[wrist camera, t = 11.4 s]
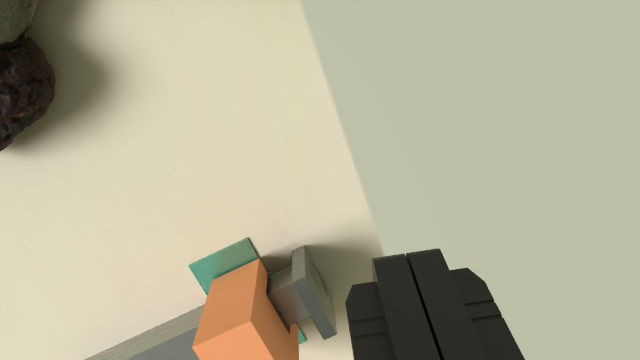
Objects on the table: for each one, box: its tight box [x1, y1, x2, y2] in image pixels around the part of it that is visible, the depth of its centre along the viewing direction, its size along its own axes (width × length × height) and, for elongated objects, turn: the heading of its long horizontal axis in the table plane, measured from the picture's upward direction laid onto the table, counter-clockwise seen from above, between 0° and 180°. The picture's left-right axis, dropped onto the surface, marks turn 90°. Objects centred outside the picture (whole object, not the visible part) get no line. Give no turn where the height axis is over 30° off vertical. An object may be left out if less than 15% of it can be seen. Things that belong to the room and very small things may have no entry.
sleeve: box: [192, 259, 299, 360], centre depth 38 cm, size 4×7×9 cm, turn 26°
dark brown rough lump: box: [0, 0, 55, 151], centre depth 33 cm, size 18×7×6 cm, turn 157°
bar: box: [86, 238, 337, 360], centre depth 40 cm, size 20×10×5 cm, turn 116°
